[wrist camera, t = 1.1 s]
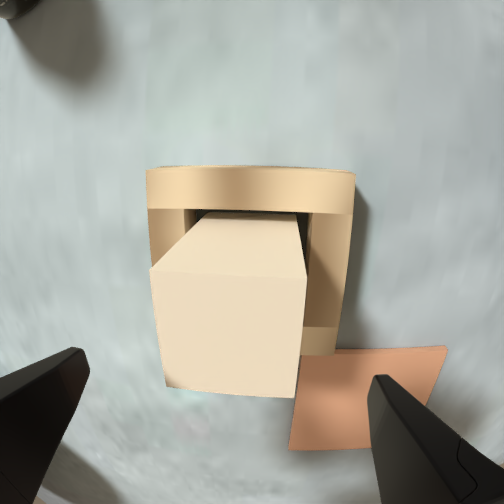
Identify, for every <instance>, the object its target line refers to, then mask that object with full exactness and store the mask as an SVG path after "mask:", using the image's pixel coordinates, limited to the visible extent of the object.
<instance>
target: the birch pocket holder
mask: <svg viewBox="0 0 504 504" xmlns="http://www.w3.org/2000/svg"><path fill="white" fill-rule="evenodd" d="M355 177H356V174H354V173H351V172H349V171H347V170H337V169H322V168H304V167H280V166H236V165H205V166H162V167H158V168H154V169H149V170H146V190H147V209H148V224H149V238H150V250H151V261H152V267H153V266H154V265H155V264H156V263H157V262H158V261H159V260H160V259H161V258H162V257H163V256H164V255H165V254H166V253H167V252H168V251H169V250H170V249H171V248H172V247H173V246H174V245H175V244H176V243H177V242H178V241H179V240H180V239H181V238H182V237H183V236H184V235H185V234H186V233H187V232H188V231H189V230H190V229H191V228H192V227H193V226H194V225H195V224H196V223H197V215H196V209H228V210H262V211H289V212H308V226H307V242H306V257H305V269H306V275H307V286H306V297H305V308H304V318H303V328H302V337H301V346H300V355H314V356H334V352H335V346H336V341H337V335H338V329H339V322H340V316H341V310H342V303H343V296H344V289H345V281H346V274H347V265H348V257H349V248H350V239H351V229H352V218H353V206H354V193H355Z"/></svg>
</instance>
